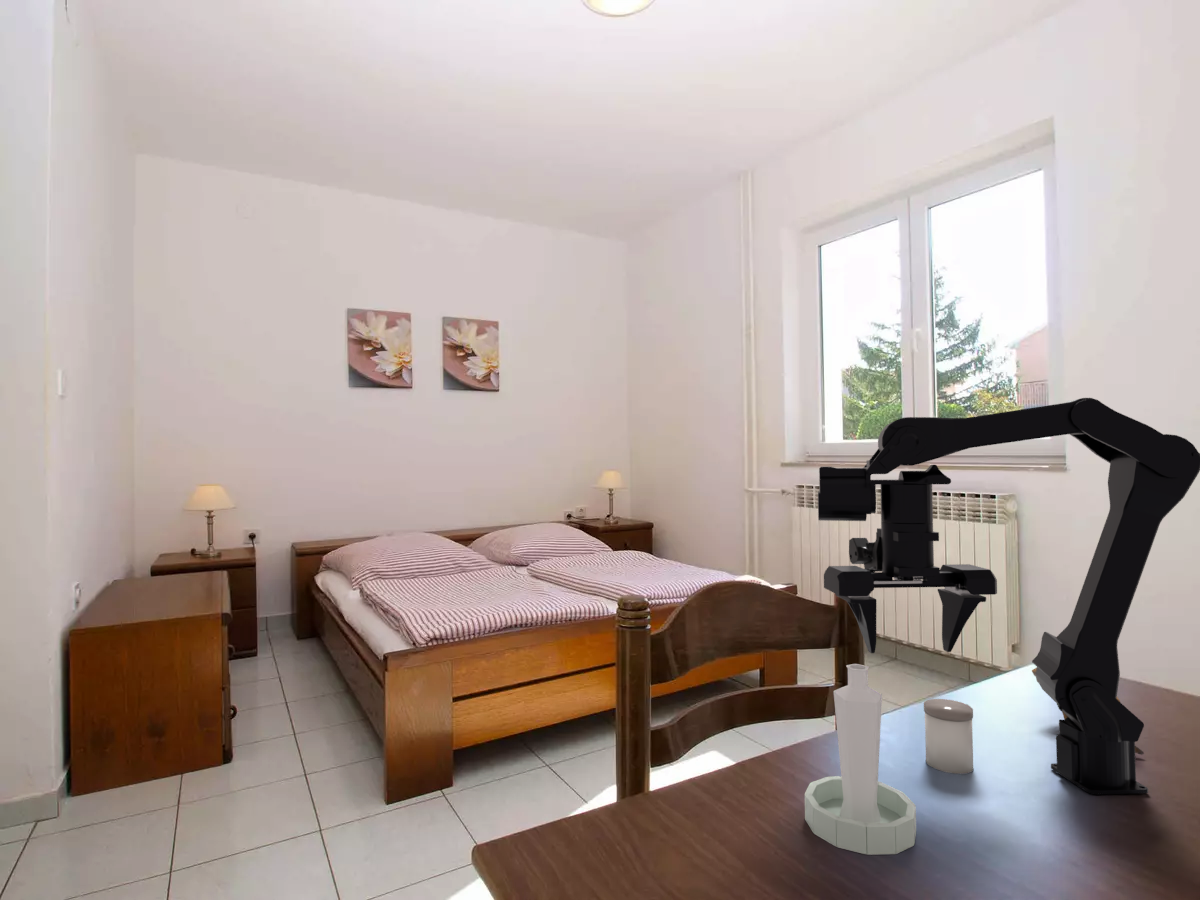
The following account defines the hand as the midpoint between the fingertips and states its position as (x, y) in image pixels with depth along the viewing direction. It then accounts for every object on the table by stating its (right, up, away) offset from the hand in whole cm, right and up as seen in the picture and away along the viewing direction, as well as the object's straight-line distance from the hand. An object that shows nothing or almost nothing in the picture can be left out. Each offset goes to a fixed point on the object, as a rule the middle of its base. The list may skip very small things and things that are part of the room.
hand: (909, 651), depth 81 cm
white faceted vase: (-11, -13, -14) cm, 22 cm away
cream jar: (+4, -13, -1) cm, 14 cm away
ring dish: (-12, -13, -14) cm, 23 cm away
